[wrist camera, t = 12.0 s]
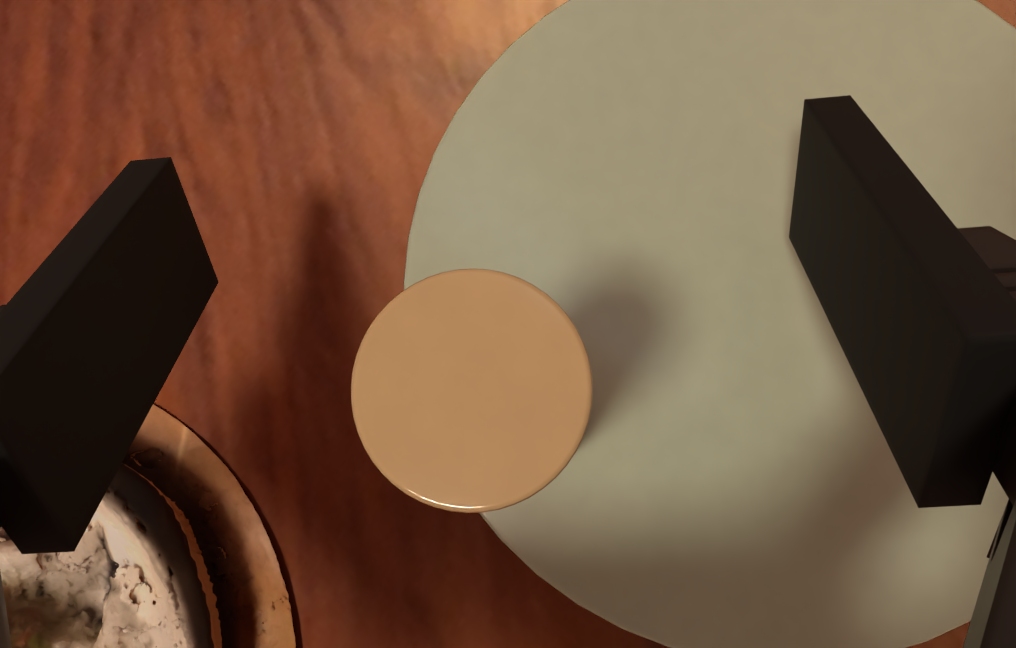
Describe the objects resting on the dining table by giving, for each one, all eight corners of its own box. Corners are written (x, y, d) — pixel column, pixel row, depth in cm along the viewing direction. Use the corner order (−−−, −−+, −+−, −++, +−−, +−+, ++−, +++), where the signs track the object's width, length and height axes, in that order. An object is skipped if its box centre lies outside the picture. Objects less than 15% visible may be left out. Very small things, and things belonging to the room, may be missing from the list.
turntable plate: (1043, 756, 16) (1762, 1254, 6) (327, 530, 18) (16, 641, 8) (1188, 48, 18) (1945, -441, 8) (517, -93, 20) (449, -630, 10)
